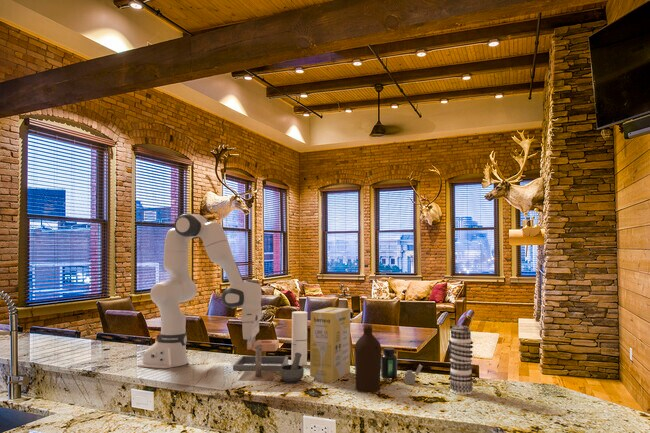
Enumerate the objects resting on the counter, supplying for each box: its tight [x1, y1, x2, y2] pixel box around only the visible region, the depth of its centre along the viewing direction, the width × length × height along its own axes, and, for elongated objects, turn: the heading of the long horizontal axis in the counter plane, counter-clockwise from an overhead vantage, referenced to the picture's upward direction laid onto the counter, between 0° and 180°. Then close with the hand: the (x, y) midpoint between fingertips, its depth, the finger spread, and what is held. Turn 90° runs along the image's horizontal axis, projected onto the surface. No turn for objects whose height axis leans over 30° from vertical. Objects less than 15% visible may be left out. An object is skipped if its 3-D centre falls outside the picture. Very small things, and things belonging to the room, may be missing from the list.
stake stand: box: [237, 345, 278, 382], centre depth 197 cm, size 14×14×14 cm
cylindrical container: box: [290, 310, 308, 367], centre depth 219 cm, size 7×7×25 cm
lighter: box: [404, 363, 423, 385], centre depth 192 cm, size 7×2×8 cm, turn 75°
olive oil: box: [353, 323, 383, 393], centre depth 186 cm, size 11×11×25 cm
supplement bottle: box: [380, 347, 398, 379], centre depth 203 cm, size 7×7×12 cm
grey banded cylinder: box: [448, 324, 474, 395], centre depth 183 cm, size 9×9×25 cm
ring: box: [246, 339, 280, 352], centre depth 215 cm, size 14×10×3 cm
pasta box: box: [309, 306, 351, 384], centre depth 204 cm, size 18×10×28 cm, turn 154°
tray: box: [232, 355, 289, 372], centre depth 215 cm, size 22×18×4 cm
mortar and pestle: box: [279, 353, 305, 384], centre depth 190 cm, size 11×9×12 cm
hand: (251, 346), depth 215 cm, fingers closed on ring, 4 cm apart
